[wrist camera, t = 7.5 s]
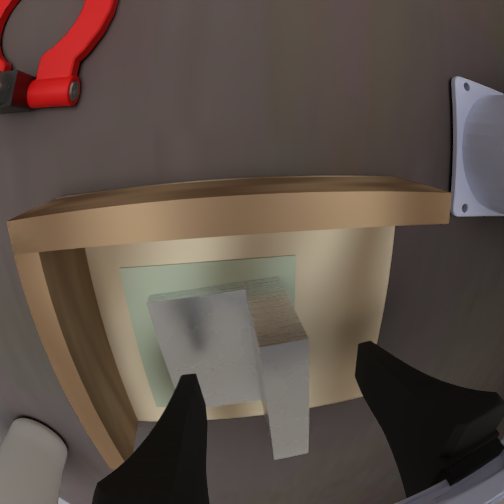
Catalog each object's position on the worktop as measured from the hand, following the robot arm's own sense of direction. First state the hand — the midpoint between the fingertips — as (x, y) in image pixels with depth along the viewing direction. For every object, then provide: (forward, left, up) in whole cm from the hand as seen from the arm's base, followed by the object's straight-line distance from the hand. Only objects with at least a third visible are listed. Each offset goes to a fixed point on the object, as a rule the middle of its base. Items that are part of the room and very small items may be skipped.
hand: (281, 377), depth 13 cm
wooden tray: (+2, -1, -4) cm, 4 cm away
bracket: (+2, 0, -3) cm, 4 cm away
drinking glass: (+19, +10, -4) cm, 21 cm away
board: (+2, -1, -4) cm, 4 cm away
